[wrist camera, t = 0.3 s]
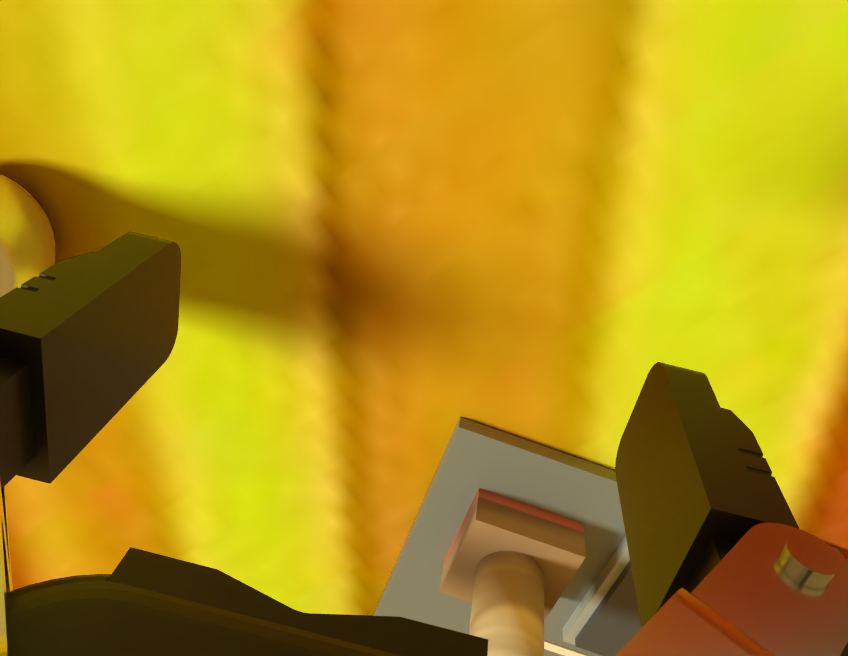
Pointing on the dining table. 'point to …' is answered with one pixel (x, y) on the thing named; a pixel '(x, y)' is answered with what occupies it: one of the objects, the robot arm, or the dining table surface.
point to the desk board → (539, 487)
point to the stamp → (511, 570)
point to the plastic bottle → (22, 237)
